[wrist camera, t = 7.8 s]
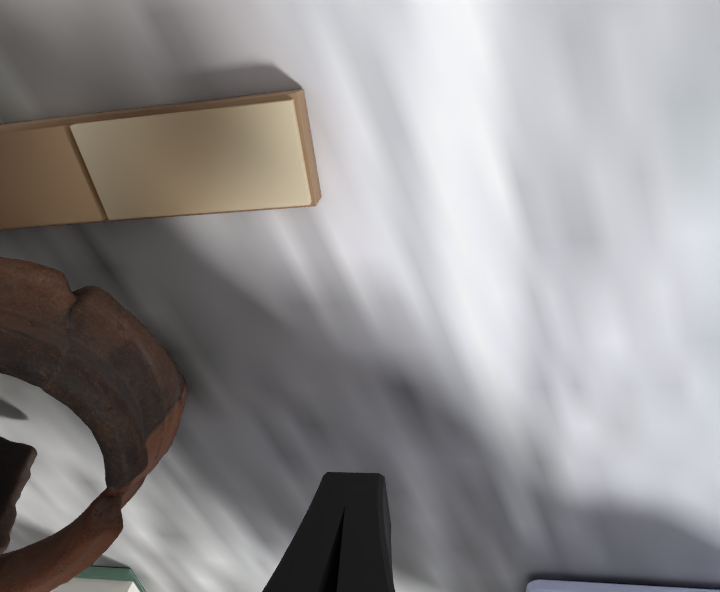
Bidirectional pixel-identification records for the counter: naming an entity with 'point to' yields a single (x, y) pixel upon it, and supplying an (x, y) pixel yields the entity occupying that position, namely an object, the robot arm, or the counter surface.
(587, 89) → the counter surface
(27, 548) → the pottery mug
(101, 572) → the felt mat
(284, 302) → the counter surface
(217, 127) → the counting strip
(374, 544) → the robot arm
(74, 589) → the die
